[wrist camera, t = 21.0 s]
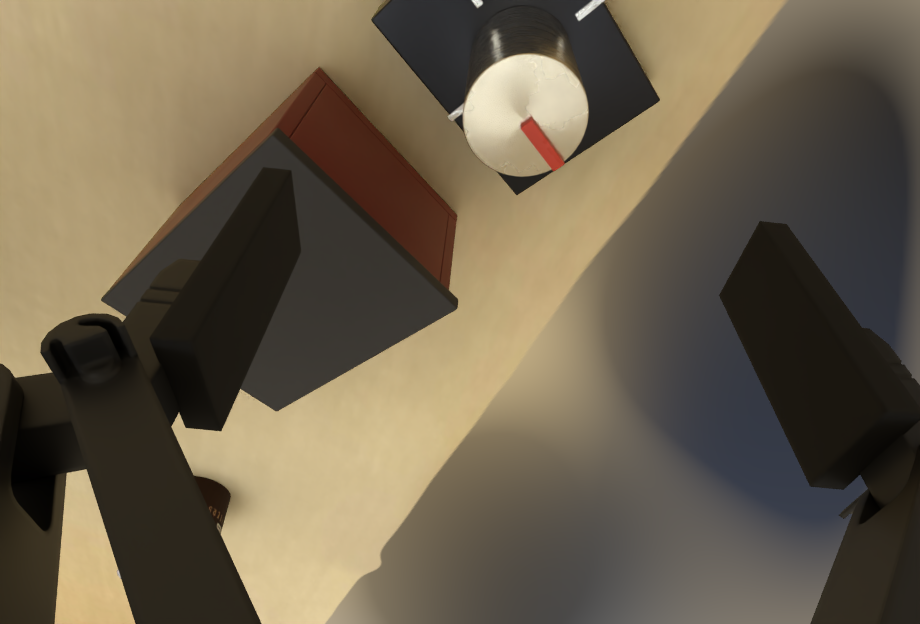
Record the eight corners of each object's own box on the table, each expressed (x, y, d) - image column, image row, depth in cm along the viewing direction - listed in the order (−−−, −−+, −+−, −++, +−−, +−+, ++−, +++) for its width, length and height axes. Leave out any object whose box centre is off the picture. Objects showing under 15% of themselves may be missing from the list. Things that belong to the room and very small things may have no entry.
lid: (278, 126, 23) (271, 134, 22) (459, 299, 29) (457, 309, 28) (107, 290, 30) (99, 300, 30) (280, 402, 36) (276, 412, 35)
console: (377, 8, 28) (368, 22, 26) (525, -140, 24) (527, -136, 22) (514, 176, 34) (515, 198, 32) (652, 82, 30) (663, 100, 28)
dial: (449, 54, 27) (435, 113, 21) (533, -20, 24) (542, 25, 19) (509, 131, 29) (511, 201, 24) (591, 70, 27) (614, 133, 21)
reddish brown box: (319, 66, 30) (268, 134, 23) (457, 215, 36) (447, 302, 29) (178, 207, 37) (108, 290, 30) (314, 313, 43) (280, 401, 36)
